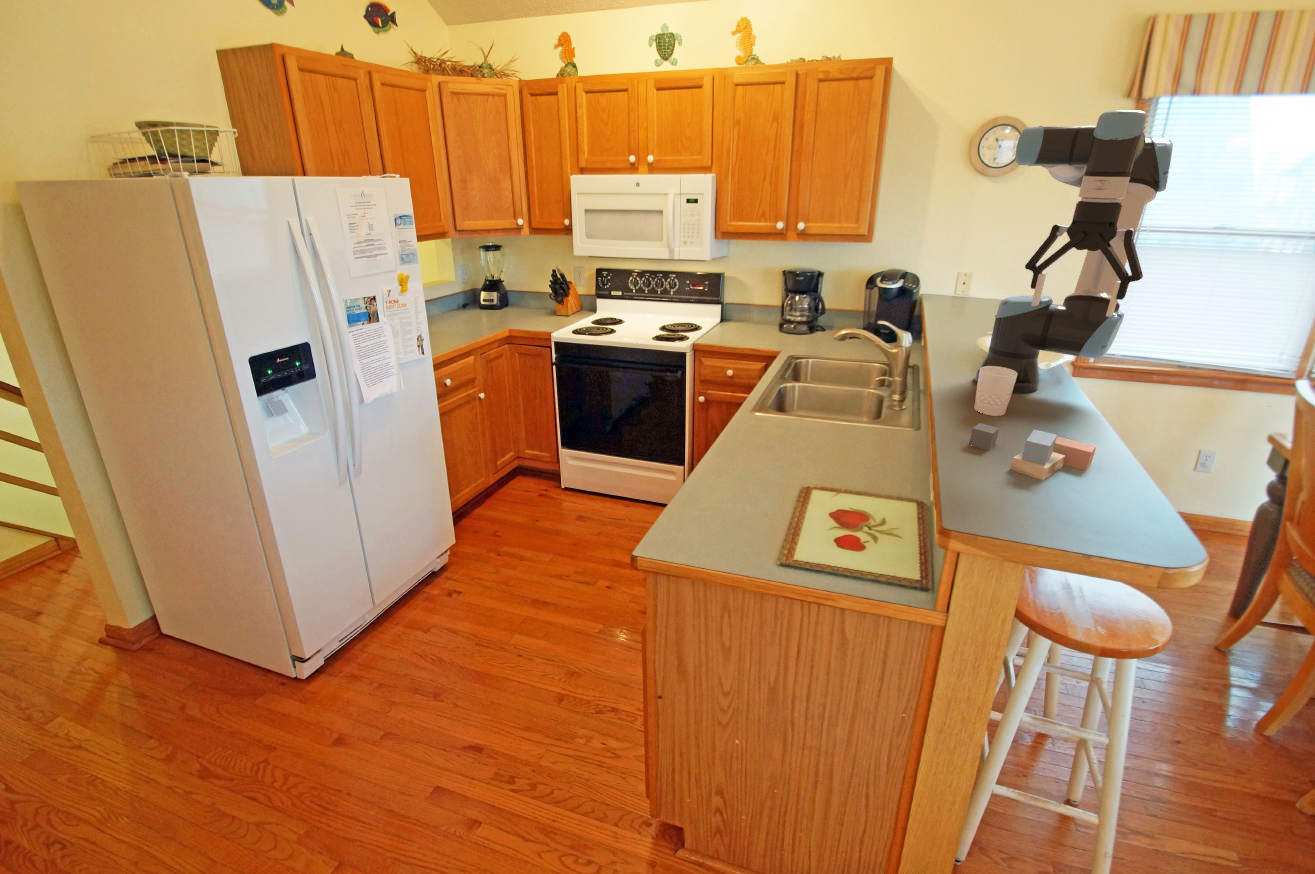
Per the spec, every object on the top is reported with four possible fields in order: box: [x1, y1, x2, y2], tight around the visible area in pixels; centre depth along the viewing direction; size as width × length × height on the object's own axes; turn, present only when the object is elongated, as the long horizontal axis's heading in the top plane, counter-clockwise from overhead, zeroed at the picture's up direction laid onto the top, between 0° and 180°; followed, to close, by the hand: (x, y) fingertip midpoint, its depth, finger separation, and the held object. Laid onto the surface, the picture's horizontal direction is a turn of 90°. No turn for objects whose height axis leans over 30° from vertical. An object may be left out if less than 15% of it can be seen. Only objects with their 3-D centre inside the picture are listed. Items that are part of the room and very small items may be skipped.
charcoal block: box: [968, 422, 1000, 452], centre depth 134 cm, size 4×4×4 cm
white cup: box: [973, 366, 1018, 417], centre depth 152 cm, size 8×8×10 cm
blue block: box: [1021, 429, 1058, 465], centre depth 124 cm, size 7×4×4 cm, turn 141°
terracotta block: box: [1053, 435, 1097, 471], centre depth 127 cm, size 7×4×4 cm, turn 46°
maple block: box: [1010, 451, 1065, 481], centre depth 125 cm, size 9×6×3 cm, turn 129°
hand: (1071, 310), depth 133 cm, fingers open, 13 cm apart
